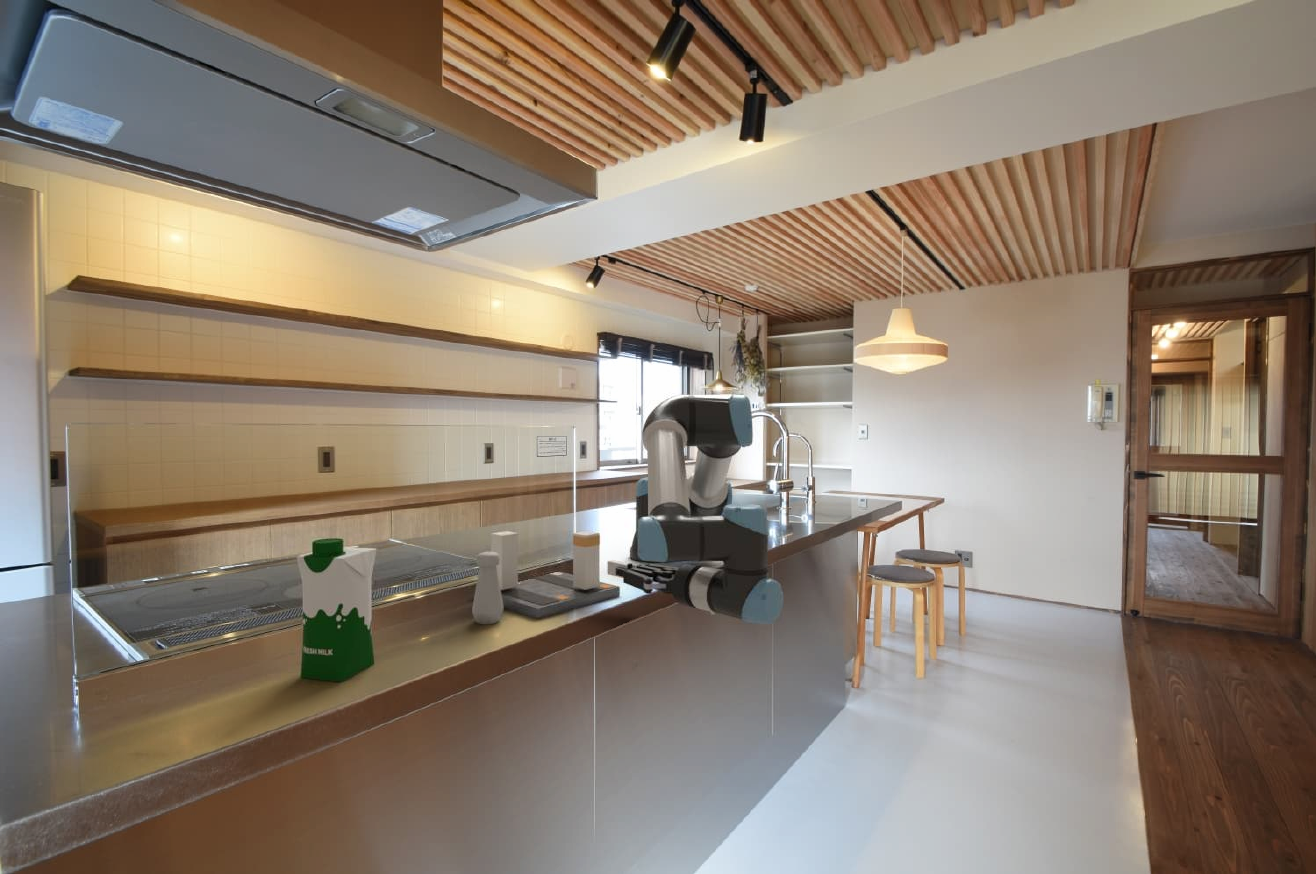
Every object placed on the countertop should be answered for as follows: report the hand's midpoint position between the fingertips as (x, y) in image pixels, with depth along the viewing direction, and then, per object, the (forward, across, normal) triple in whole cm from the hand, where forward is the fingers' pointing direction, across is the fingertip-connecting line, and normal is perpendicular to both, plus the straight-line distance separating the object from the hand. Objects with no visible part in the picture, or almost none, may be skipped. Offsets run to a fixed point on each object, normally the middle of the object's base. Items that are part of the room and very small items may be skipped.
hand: (610, 567), depth 124 cm
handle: (+8, 0, -5) cm, 9 cm away
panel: (+15, -5, -8) cm, 17 cm away
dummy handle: (+21, -12, -5) cm, 24 cm away
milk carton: (+6, -51, -8) cm, 52 cm away
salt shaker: (+10, -23, -8) cm, 26 cm away
